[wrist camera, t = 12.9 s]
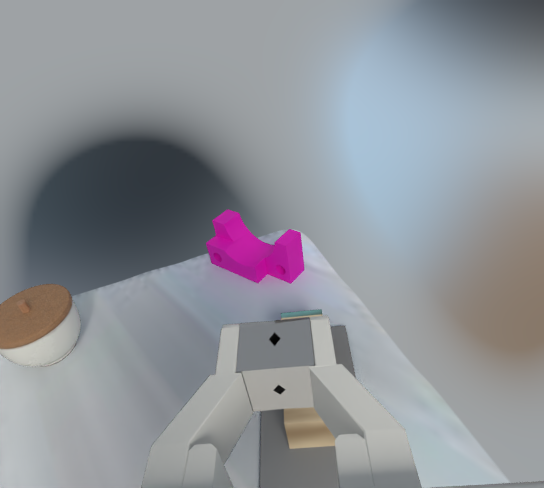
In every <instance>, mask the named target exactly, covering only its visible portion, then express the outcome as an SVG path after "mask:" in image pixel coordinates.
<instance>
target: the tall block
mask: <svg viewBox="0 0 544 488" xmlns="http://www.w3.org/2000/svg"><path fill="white" fill-rule="evenodd" d="M315 316H322V309H321V310H310V311H299V312H288V313H281V320H284V319H294V318H303V317H315ZM284 425H285V429H286V434H287V439H288V443H289V448H290V449H295V448H310V447H325V446H335V440H336V439H335V437H334V436H333V435H332V433H331V432H330V430H329V429H328V428H327V426H326V425H325V423H324V422H323V420H322V419H321V418H320V416H319V415H318V413H317V412H316V411H315V409H314V407H309V408H288V409H284Z"/></svg>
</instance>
